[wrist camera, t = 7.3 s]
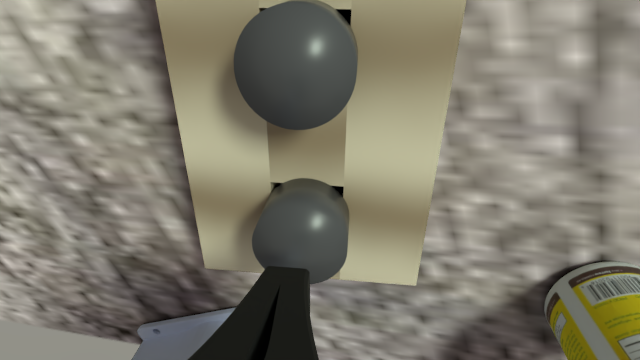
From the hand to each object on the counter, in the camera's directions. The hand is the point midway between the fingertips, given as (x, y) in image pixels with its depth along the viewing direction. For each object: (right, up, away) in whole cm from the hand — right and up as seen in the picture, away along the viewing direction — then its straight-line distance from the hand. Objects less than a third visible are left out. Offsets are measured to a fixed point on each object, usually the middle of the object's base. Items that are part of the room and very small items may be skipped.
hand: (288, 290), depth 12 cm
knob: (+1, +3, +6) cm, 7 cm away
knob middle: (+1, +9, +3) cm, 10 cm away
